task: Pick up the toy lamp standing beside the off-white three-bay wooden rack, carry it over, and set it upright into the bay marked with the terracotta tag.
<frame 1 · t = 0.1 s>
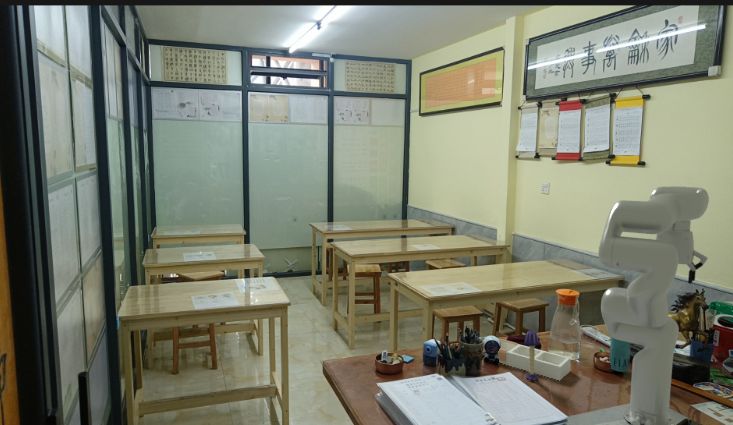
hand: (671, 280, 150), 37 cm above the table, tool pointing down, fingers open, 9 cm apart
rack: (525, 364, 174), on the table
beverage bottle: (618, 372, 168), on the table
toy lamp: (530, 379, 162), on the table
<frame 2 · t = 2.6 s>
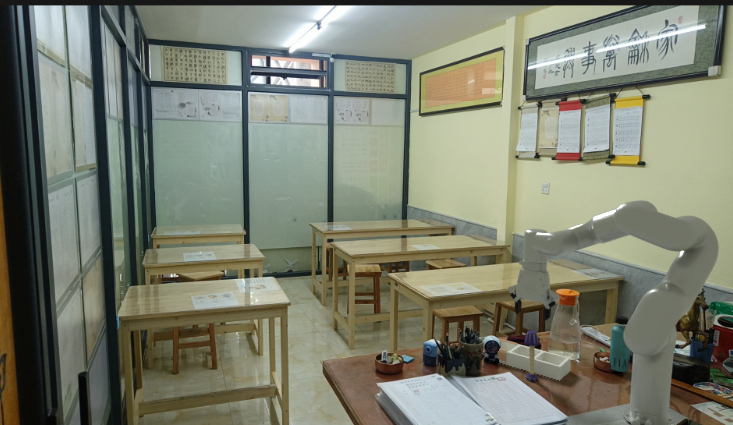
hand: (532, 316, 160), 22 cm above the table, tool pointing down, fingers open, 9 cm apart
nothing on the table moved.
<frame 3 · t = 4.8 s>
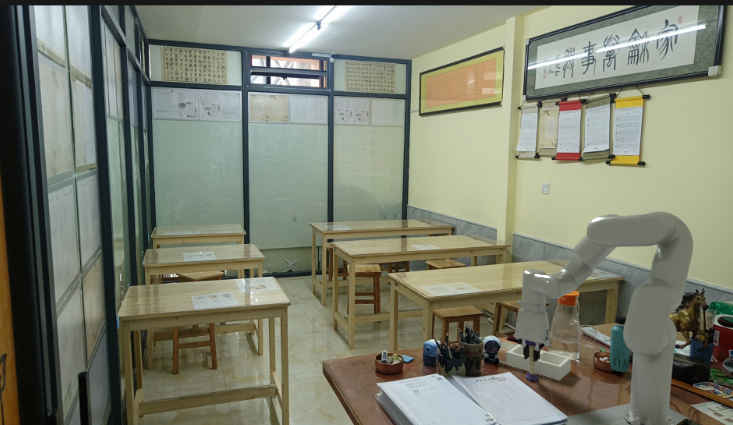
hand: (531, 358, 162), 7 cm above the table, tool pointing down, fingers closed on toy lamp, 2 cm apart
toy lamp: (530, 379, 162), on the table, touching gripper
everything else where it was.
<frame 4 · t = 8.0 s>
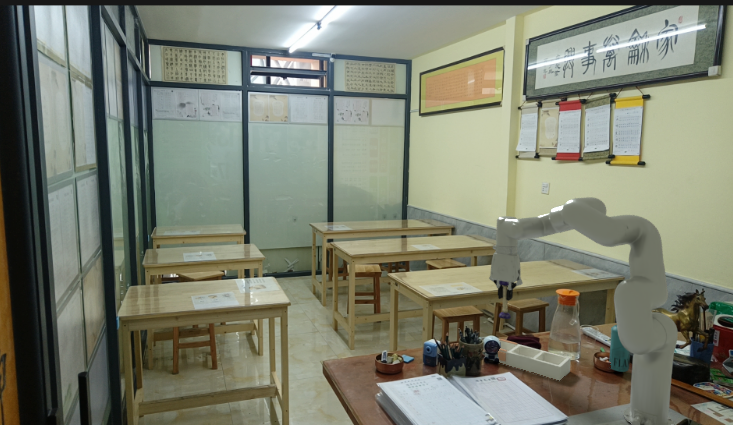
hand: (505, 298, 177), 23 cm above the table, tool pointing down, fingers closed on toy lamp, 2 cm apart
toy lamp: (503, 317, 178), point 16 cm above the table, touching gripper
everything else where it was.
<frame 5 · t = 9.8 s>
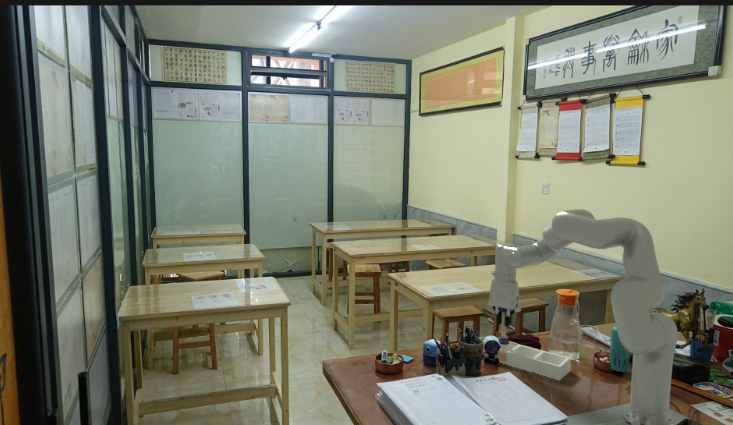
hand: (503, 324, 178), 13 cm above the table, tool pointing down, fingers closed on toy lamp, 2 cm apart
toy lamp: (502, 343, 179), point 6 cm above the table, touching gripper
everything else where it was.
when the fingers open (9 cm above the table, at t = 11.2 s): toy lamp drops 1 cm, resting on rack.
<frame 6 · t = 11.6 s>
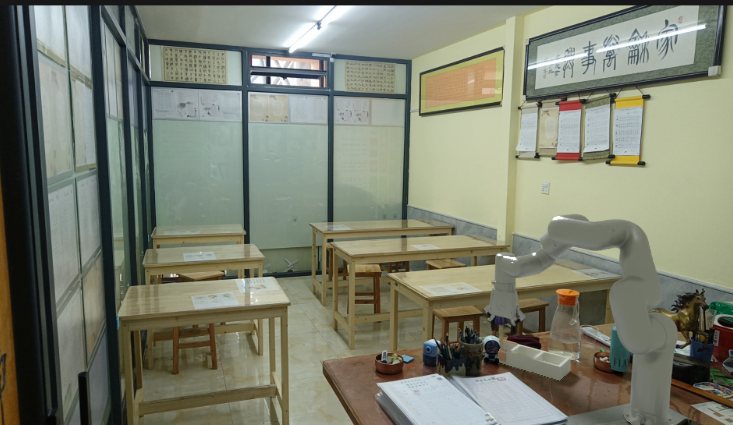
hand: (503, 332, 179), 10 cm above the table, tool pointing down, fingers open, 7 cm apart
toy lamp: (500, 355, 180), point 1 cm above the table, touching rack
everything else where it was.
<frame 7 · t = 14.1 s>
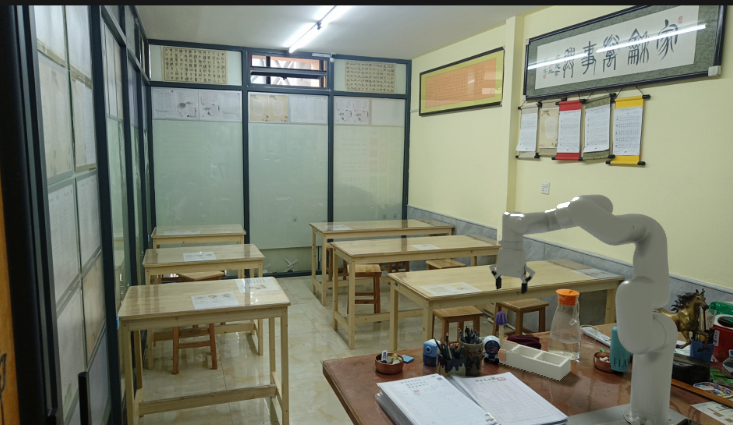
hand: (511, 291, 176), 26 cm above the table, tool pointing down, fingers open, 9 cm apart
nothing on the table moved.
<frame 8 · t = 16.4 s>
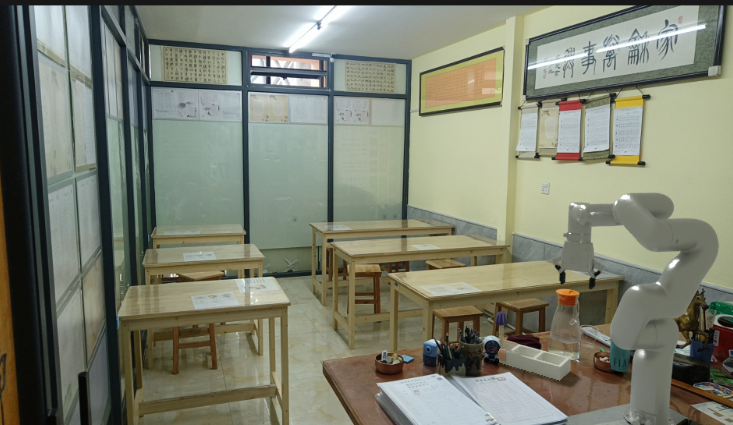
hand: (576, 286, 167), 30 cm above the table, tool pointing down, fingers open, 9 cm apart
nothing on the table moved.
at the end: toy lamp 0.8 cm from the target spot on the rack, point 0.8 cm above the rack's base; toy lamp tilted 0°; the gripper is holding nothing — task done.
